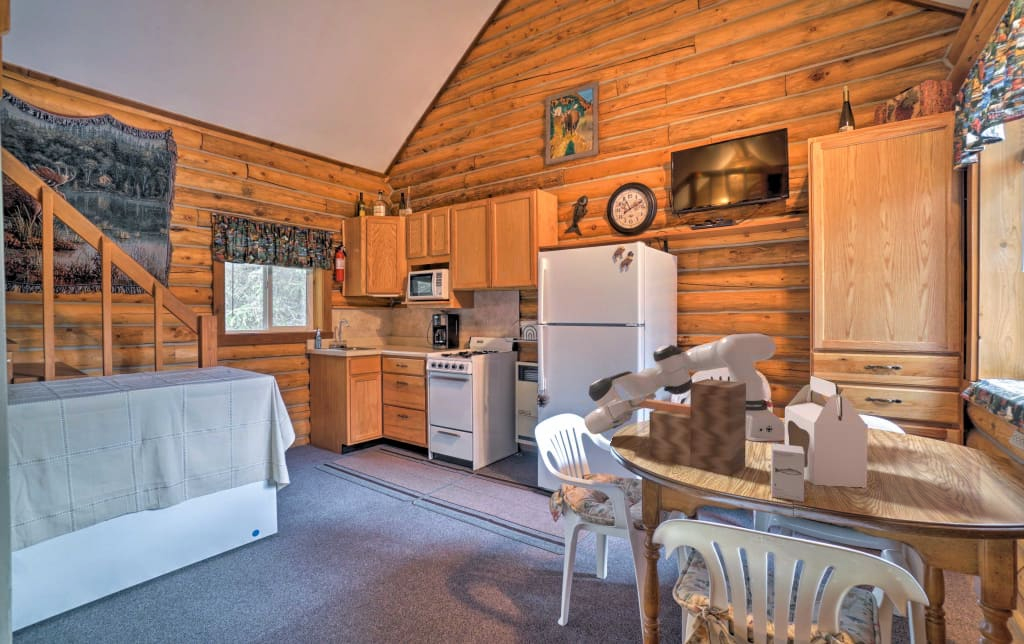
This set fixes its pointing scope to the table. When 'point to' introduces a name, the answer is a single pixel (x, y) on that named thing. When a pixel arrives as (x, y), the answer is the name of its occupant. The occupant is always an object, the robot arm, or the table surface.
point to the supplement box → (787, 472)
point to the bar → (665, 406)
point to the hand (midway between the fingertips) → (649, 396)
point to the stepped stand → (704, 429)
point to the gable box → (828, 435)
